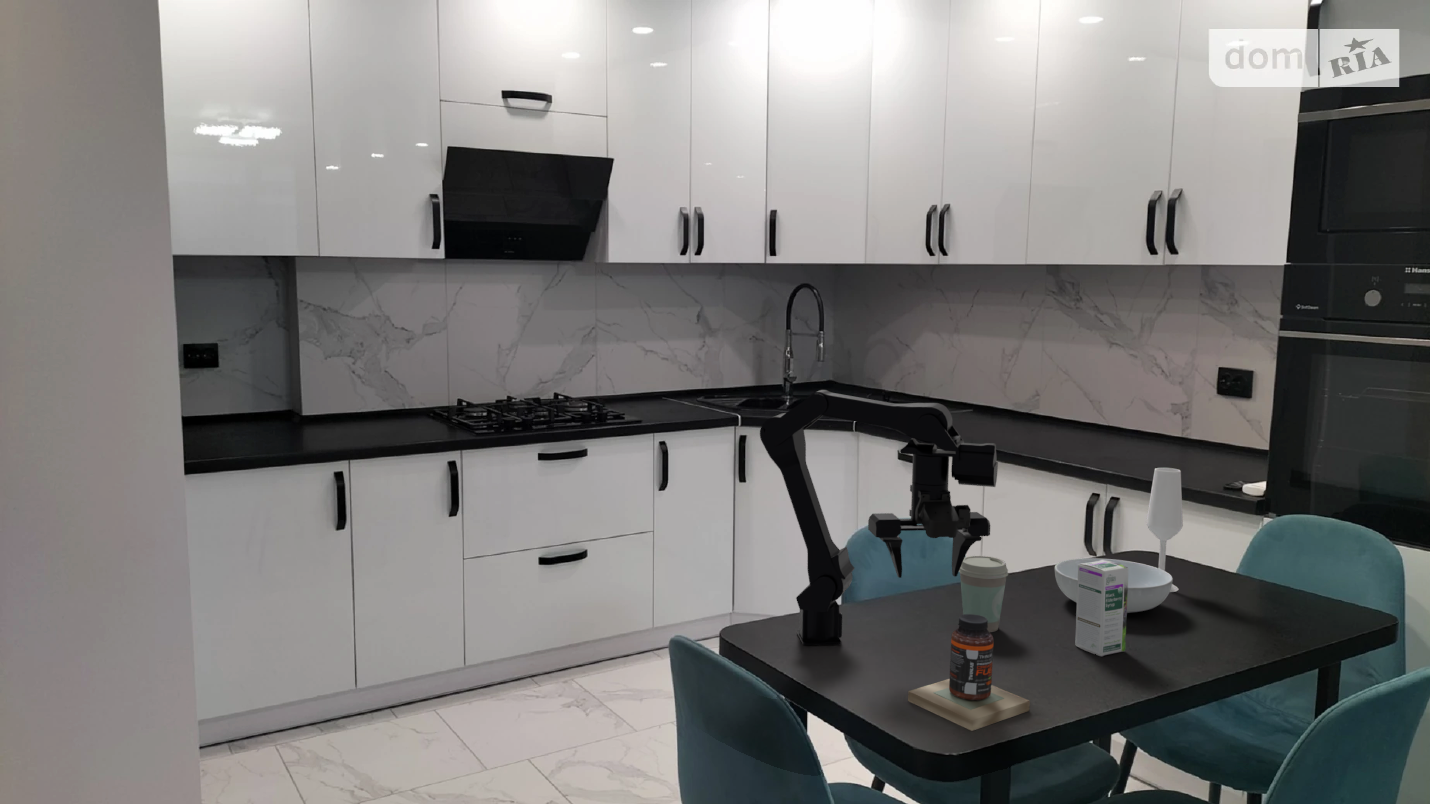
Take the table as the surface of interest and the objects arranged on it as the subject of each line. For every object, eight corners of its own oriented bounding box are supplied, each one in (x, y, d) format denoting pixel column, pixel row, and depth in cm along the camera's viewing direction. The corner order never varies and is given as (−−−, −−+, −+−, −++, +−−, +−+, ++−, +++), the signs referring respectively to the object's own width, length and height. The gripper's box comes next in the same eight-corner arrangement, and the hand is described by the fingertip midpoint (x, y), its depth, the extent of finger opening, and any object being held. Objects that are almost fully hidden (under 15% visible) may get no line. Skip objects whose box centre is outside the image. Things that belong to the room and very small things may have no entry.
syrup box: (1101, 657, 168) (1105, 570, 166) (1073, 646, 173) (1077, 561, 171) (1125, 651, 170) (1130, 566, 169) (1097, 640, 176) (1102, 558, 174)
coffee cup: (997, 638, 176) (1000, 570, 175) (949, 629, 180) (951, 563, 179) (1012, 625, 183) (1014, 559, 182) (965, 616, 188) (967, 552, 186)
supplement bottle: (980, 705, 144) (983, 627, 143) (941, 695, 148) (944, 618, 146) (998, 692, 149) (1001, 617, 147) (959, 682, 152) (962, 608, 151)
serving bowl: (1178, 601, 198) (1181, 567, 197) (1160, 632, 180) (1162, 594, 180) (1067, 584, 209) (1069, 551, 208) (1040, 611, 191) (1041, 575, 191)
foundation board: (971, 730, 140) (972, 719, 139) (908, 701, 149) (908, 690, 149) (1029, 710, 146) (1029, 700, 146) (964, 683, 156) (965, 673, 156)
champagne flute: (1155, 580, 212) (1162, 465, 209) (1185, 588, 206) (1193, 471, 203) (1135, 585, 208) (1142, 468, 205) (1165, 594, 202) (1172, 474, 200)
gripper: (886, 493, 156) (883, 592, 158) (1005, 491, 158) (1001, 590, 160) (868, 479, 167) (866, 572, 169) (979, 477, 169) (976, 570, 171)
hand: (927, 576), depth 167 cm, fingers open, 9 cm apart
